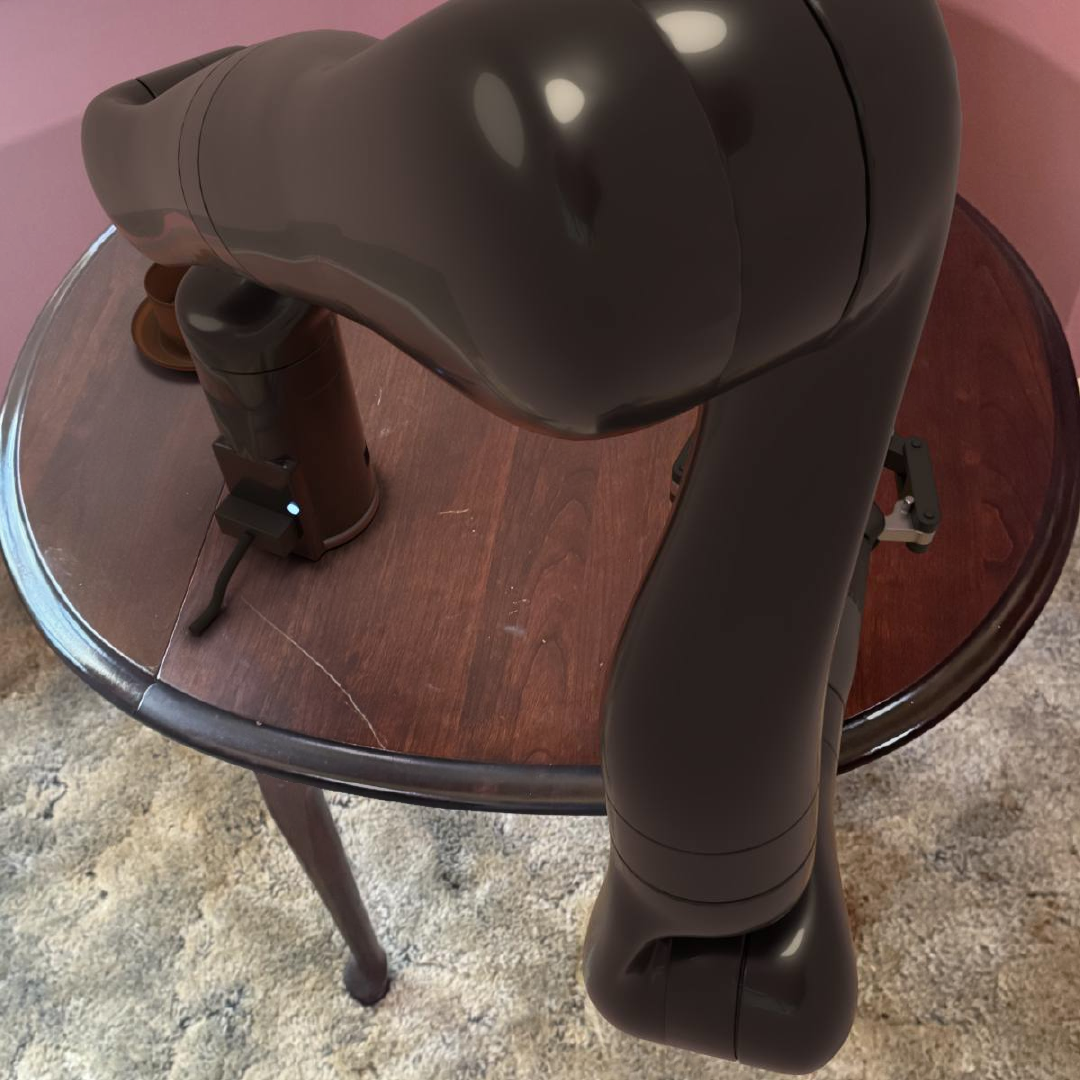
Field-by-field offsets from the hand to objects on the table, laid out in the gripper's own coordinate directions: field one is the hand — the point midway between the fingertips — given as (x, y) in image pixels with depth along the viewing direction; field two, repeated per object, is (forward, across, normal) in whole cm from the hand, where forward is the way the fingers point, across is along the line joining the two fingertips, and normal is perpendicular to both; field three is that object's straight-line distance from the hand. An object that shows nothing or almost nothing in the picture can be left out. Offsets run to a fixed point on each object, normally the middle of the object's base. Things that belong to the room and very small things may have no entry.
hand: (823, 379), depth 63 cm
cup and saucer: (+12, +49, +18) cm, 53 cm away
